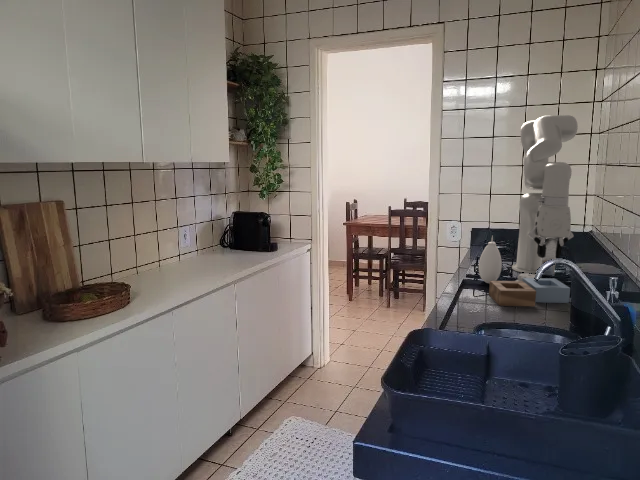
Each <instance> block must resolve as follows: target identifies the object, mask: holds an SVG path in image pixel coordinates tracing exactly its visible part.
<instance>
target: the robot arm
mask: <svg viewBox="0 0 640 480" xmlns="http://www.w3.org/2000/svg"><path fill="white" fill-rule="evenodd" d="M577 134H578V121H577V119H576V117H575V116H573V115H569V114H566V115H564V114H563V115H561V114H560V115H559V114H558V115H552V114H551V115H543V116H541V117H538V118H537V119H535V120H528V121H526V122H524V123H523V124H522V126H521V127H520V142H521V146H522V149H523V152H524V156H525V157H524V159H523V175H524V177H523V178H524V186H525V188H526V189H527V190H532V191H542V192H528V193H524V194H523V195H521V196H520V199H519V230H518V231H519V232H518V240H517V241H518V243H517V253H516V263H515V264H512V265H511V269H512V270H513V271H515V272H519V273H522V272H524V273H528V274H529V273H532V274H535V273H536V271H537V269H538V268H539V267H540V264H541V258H543V257H544V252H545V246H544V242H545V239H546V237H554V238H558V244H557V253H556V259H559V258H560V257H561V254H562V247H563V246H564V245H565V243H567V242H568V241H569V240H571V239H572V238H574V237H575V236H574V233H573V232H572V230H571V227H572V226H571V225H572V224H571V223H572V222H571V221H572V219H571V209H570V206H569V198H570V197H569V190H570V182H571V181H570V180H571V177H572V168H571V165H570V164H568V163H566V162H561V161H557V162H556V161H549V159H550V158H551V157H554V156H555V155H557V154H559V152H561V149H562V146H563V143H565V142H568V141H572V139H574V138H575V137H576V135H577ZM524 273H523V274H524ZM535 275H536V274H535Z"/></svg>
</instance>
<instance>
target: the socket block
mask: <svg viewBox="0 0 640 480" xmlns="http://www.w3.org/2000/svg"><path fill="white" fill-rule="evenodd" d="M522 281H523V282H524V283H526V284H527V285H528V286H530V287H531V288H533V289H534V290H535V291H536V299H535V303H553V304H554V303H557V304H559V303H562V304H565V303H566V304H569V303H570V295H571V287H569V286H568V285H566V284H565V283H563V282H561V281H560V280H558V279H557V278H553V277H552V278H551V277H550V278H547V277H546V278H542V277H541V278H540V279H539V280H538V281H536V280H535V279H534V278H523V280H522Z"/></svg>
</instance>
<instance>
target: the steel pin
mask: <svg viewBox="0 0 640 480" xmlns="http://www.w3.org/2000/svg"><path fill="white" fill-rule="evenodd" d="M557 244H558V238H555V237H546V239H545V242H544V246H545V252H544V257H543V258H541V264H540V266H541V265H542V264H543V263H544V262H546V261H548V260H551V259H556V260H557V258H556V253H557ZM555 268H556V264H555V265H553V266H551V267H550V268H549V269H548V270H546V271H545V272H544V274H542V275H543V276H544V275H545V276H554V275H555V273H556V269H555Z"/></svg>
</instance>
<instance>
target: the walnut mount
mask: <svg viewBox="0 0 640 480" xmlns="http://www.w3.org/2000/svg"><path fill="white" fill-rule="evenodd" d="M488 296H489V297H490V298H491V299H492V300H493V301H494V302H495V303H496V304H497V305H498V306H500V307H536V302H535V299H536V291H535V290H534V289H533V288H531V287H530V286H528V285H527V284H526V283H524V282H523V281H516V280H496V281H490V284H489V288H488Z"/></svg>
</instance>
